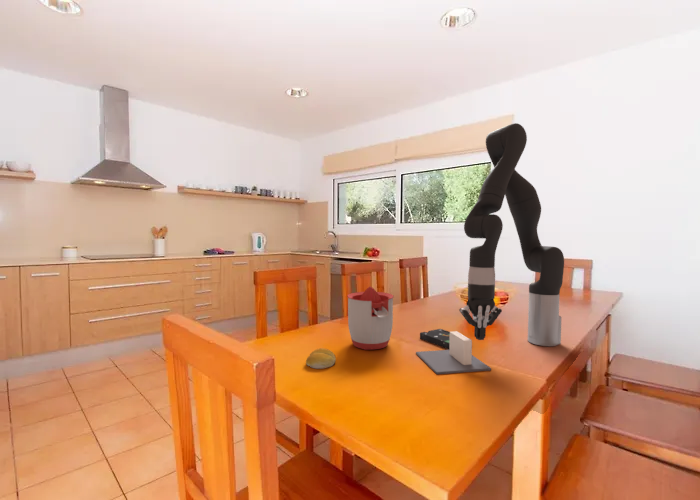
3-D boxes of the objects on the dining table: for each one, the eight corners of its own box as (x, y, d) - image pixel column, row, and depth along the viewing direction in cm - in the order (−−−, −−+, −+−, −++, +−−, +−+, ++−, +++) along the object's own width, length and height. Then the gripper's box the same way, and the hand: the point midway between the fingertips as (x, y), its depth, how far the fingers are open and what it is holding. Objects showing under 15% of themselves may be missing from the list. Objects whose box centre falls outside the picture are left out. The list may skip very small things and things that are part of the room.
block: (457, 353, 108) (457, 331, 108) (471, 364, 99) (472, 340, 99) (449, 354, 108) (449, 331, 108) (463, 365, 99) (463, 340, 99)
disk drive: (419, 340, 126) (450, 351, 113) (419, 332, 125) (450, 343, 113) (439, 335, 131) (472, 346, 118) (439, 328, 131) (472, 338, 118)
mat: (463, 350, 113) (463, 348, 113) (491, 370, 97) (491, 368, 97) (415, 353, 110) (415, 351, 110) (436, 374, 94) (436, 372, 94)
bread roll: (303, 369, 99) (303, 355, 98) (312, 357, 107) (311, 345, 107) (331, 371, 97) (331, 357, 97) (338, 359, 106) (338, 346, 106)
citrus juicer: (360, 357, 107) (360, 292, 106) (340, 340, 123) (340, 284, 122) (404, 350, 113) (405, 289, 112) (380, 335, 129) (380, 282, 128)
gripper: (494, 279, 109) (493, 334, 109) (454, 280, 106) (453, 336, 107) (509, 283, 101) (507, 342, 102) (466, 284, 99) (465, 344, 100)
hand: (479, 339), depth 105 cm, fingers closed
